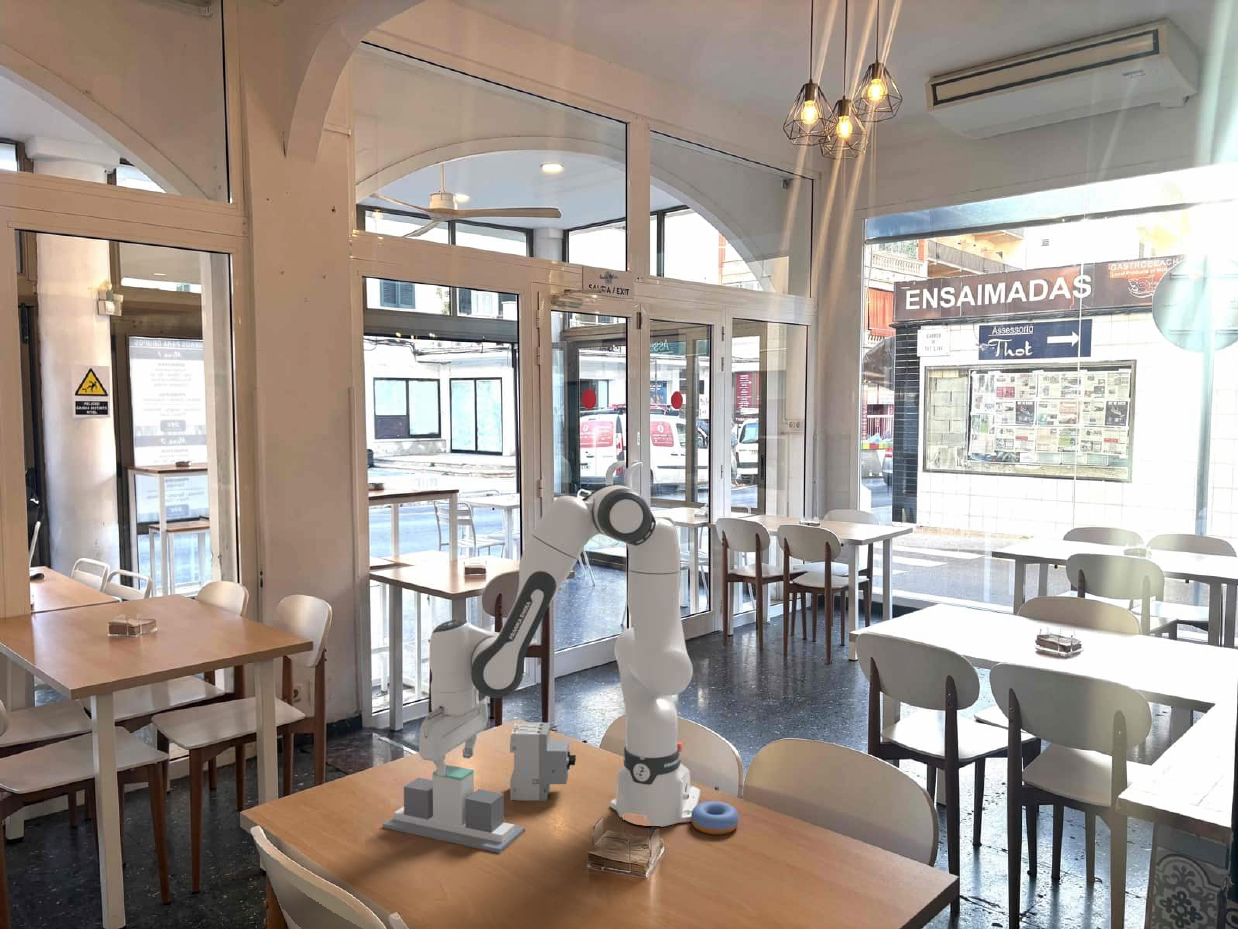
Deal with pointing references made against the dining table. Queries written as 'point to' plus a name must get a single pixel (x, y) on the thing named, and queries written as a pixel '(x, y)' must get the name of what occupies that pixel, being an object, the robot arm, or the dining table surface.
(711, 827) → the doughnut
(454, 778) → the block
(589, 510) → the robot arm
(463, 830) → the rail assembly
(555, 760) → the circuit breaker
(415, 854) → the dining table surface
